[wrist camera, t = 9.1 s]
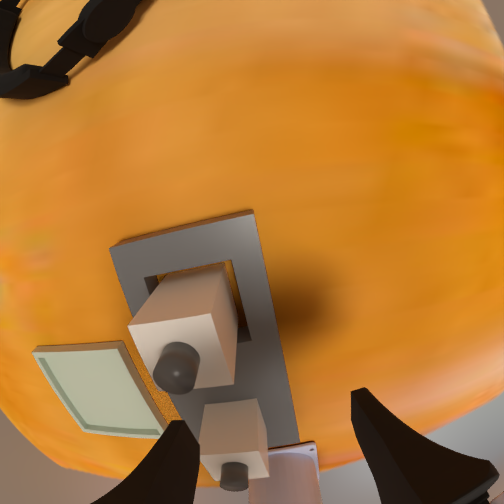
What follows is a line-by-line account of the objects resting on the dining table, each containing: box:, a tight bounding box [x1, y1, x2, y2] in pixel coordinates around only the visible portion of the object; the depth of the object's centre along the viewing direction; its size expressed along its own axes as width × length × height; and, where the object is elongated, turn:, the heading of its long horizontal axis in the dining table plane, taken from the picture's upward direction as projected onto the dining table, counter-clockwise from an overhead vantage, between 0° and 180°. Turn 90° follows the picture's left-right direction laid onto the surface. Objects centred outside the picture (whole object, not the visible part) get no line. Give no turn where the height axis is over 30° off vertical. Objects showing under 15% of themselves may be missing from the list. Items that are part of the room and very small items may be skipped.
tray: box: [32, 341, 168, 439], centre depth 21 cm, size 11×11×1 cm
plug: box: [128, 263, 238, 395], centre depth 15 cm, size 4×4×9 cm
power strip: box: [109, 210, 300, 491], centre depth 16 cm, size 20×9×9 cm, turn 12°
